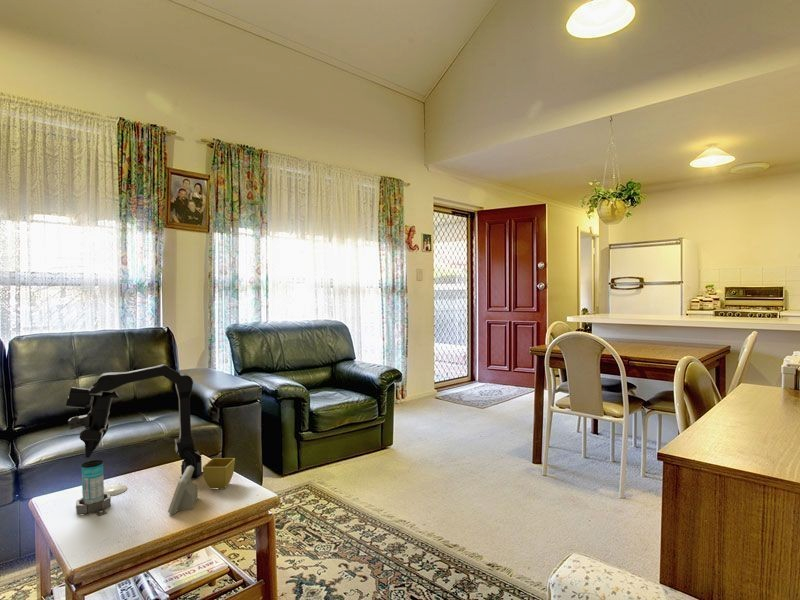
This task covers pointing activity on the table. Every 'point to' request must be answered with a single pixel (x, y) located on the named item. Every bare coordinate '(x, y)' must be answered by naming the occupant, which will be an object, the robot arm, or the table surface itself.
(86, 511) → the eye ring
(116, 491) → the dome ceiling light
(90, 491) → the beverage can
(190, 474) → the digital clock
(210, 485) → the flower pot
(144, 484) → the table surface
